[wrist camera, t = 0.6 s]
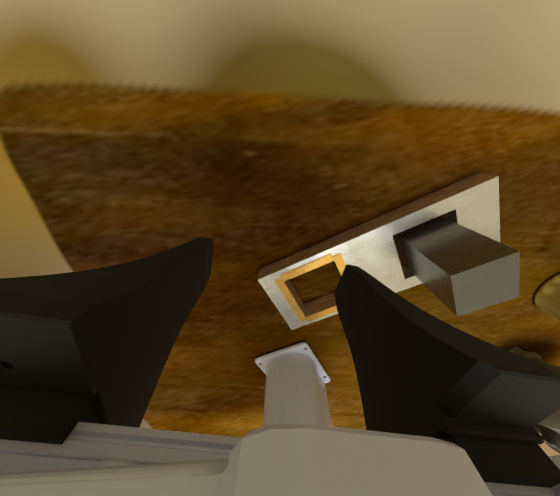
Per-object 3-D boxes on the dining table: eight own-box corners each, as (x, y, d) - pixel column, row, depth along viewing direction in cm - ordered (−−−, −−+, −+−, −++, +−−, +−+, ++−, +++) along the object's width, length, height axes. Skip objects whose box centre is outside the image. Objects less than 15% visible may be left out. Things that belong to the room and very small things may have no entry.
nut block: (438, 245, 21) (518, 297, 14) (399, 261, 22) (457, 316, 15) (432, 212, 20) (519, 251, 13) (391, 230, 20) (450, 276, 13)
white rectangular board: (482, 245, 21) (502, 255, 19) (290, 317, 26) (291, 331, 24) (476, 173, 18) (500, 176, 16) (259, 269, 22) (257, 280, 21)
